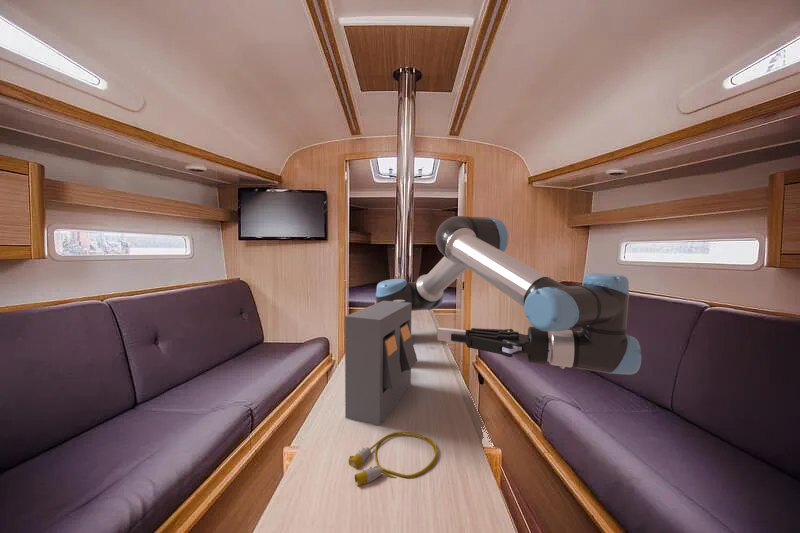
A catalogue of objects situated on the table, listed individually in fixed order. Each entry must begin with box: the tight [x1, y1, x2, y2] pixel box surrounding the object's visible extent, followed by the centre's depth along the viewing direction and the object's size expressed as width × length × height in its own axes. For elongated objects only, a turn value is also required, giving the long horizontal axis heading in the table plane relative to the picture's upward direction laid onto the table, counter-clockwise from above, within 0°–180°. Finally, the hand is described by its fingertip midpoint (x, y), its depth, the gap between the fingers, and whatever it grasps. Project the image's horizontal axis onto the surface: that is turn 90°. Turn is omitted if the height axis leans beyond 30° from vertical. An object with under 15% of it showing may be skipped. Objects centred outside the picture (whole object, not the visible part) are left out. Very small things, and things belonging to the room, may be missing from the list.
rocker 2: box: [400, 323, 419, 371], centre depth 76 cm, size 6×2×10 cm, turn 159°
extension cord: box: [348, 431, 438, 487], centre depth 54 cm, size 12×16×2 cm
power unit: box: [344, 301, 413, 426], centre depth 73 cm, size 20×8×22 cm, turn 159°
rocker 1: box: [383, 333, 402, 389], centre depth 67 cm, size 6×2×10 cm, turn 159°
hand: (438, 333), depth 73 cm, fingers closed
